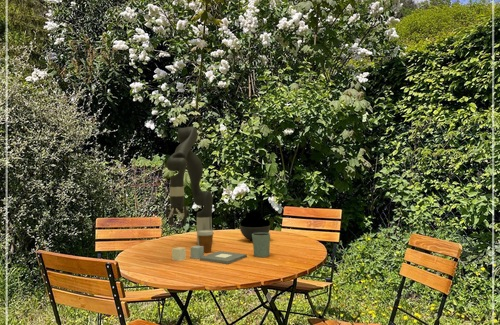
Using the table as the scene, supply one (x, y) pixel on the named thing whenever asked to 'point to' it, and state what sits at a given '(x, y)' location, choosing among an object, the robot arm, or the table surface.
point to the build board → (223, 257)
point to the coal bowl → (253, 225)
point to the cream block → (178, 254)
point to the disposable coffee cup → (205, 239)
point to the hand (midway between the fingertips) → (177, 225)
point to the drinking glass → (261, 244)
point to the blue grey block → (197, 252)
